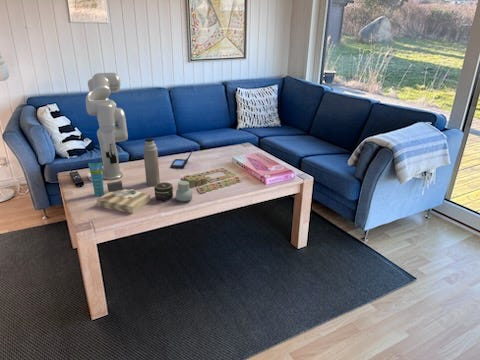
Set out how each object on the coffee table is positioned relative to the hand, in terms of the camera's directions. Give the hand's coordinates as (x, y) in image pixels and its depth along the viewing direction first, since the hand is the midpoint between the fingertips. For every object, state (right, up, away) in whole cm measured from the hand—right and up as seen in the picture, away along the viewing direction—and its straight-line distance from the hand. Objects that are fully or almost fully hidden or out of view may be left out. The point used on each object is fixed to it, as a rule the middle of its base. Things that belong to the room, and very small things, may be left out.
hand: (111, 160), depth 192 cm
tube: (-13, -19, +18) cm, 29 cm away
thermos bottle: (+14, -12, +33) cm, 38 cm away
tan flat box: (+4, -23, +8) cm, 24 cm away
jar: (+24, -20, +15) cm, 35 cm away
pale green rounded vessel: (+36, -21, +14) cm, 44 cm away
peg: (+2, -18, +9) cm, 20 cm away
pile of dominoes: (+49, -11, +39) cm, 64 cm away
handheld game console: (+27, 0, +64) cm, 69 cm away
